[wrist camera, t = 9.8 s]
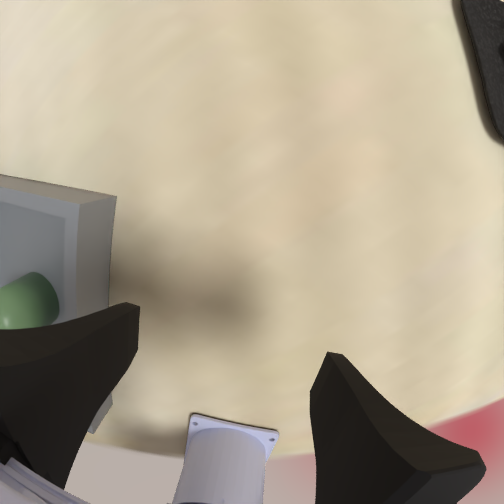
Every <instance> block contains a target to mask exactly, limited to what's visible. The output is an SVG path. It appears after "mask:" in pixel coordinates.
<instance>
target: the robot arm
mask: <svg viewBox="0 0 504 504" xmlns="http://www.w3.org/2000/svg"><path fill="white" fill-rule="evenodd" d="M139 315H140V306H136V305H133V304H130V303H127V302H125V303H121V304H118V305H115V306H112V307H109V308H106V309H103V310H100V311H97V312H95V313H92V314H89V315H86V316H83V317H79V318H76V319H72V320H69V321H66V322H62V323H57V324H53V325H47V326H42V327H34V328H23V329H0V504H90V503H88V502H85V501H84V500H81V499H80V498H78V497H76V496H74V495H72V494H70V493H68V492H66V491H64V488H65V485H66V482H67V479H68V476H69V473H70V470H71V467H72V465H73V462H74V460H75V457H76V455H77V453H78V450H79V448H80V446H81V444H82V441H83V439H84V437H85V435H86V433H87V431H88V429H89V427H90V425H91V423H92V421H93V419H94V417H95V415H96V414H97V412H98V410H99V409H100V407H101V406H102V404H103V403H104V401H105V400H106V399H107V397H108V396H109V395H110V393H111V392H112V390H113V389H114V388H115V386H116V385H117V383H118V382H119V381H120V379H121V378H122V376H123V375H124V374H125V372H126V371H127V369H128V368H129V366H130V364H131V362H132V360H133V358H134V356H135V354H136V352H137V350H138V333H139ZM310 419H311V427H312V434H313V442H314V449H315V457H316V499H315V500H316V501H315V504H457V502H458V501H459V500H461V499H462V498H463V497H464V496H465V495H466V494H467V493H469V492H470V491H471V490H472V489H473V488H474V487H475V486H476V485H477V484H478V483H479V482H480V481H481V479H482V478H483V476H484V474H485V471H486V466H485V464H484V462H483V460H482V458H481V456H480V454H479V453H478V452H477V451H476V450H473V449H470V448H467V447H464V446H461V445H458V444H456V443H453V442H451V441H448V440H446V439H444V438H442V437H440V436H438V435H436V434H434V433H432V432H430V431H429V430H427V429H425V428H424V427H422V426H420V425H419V424H417V423H416V422H414V421H413V420H411V419H410V418H408V417H407V416H406V415H404V414H403V413H402V412H401V411H399V410H398V409H397V408H395V407H394V406H393V405H392V404H391V403H390V402H388V401H387V400H386V399H385V398H384V397H383V396H382V395H381V394H380V393H379V392H378V391H377V390H376V389H375V388H374V387H373V386H372V385H371V384H370V383H369V382H368V381H367V380H366V379H365V378H364V377H363V376H362V374H361V373H360V372H359V371H358V370H357V369H356V368H355V367H354V366H353V365H352V364H351V362H350V361H349V360H348V359H347V358H346V357H345V356H344V355H342V354H338V353H332V352H327V354H326V356H325V358H324V361H323V363H322V366H321V368H320V370H319V372H318V375H317V377H316V379H315V382H314V384H313V386H312V388H311V390H310ZM196 422H197V423H196ZM278 438H279V432H277V431H273V430H267V429H261V428H256V427H250V426H245V425H240V424H235V423H231V422H226V421H222V420H218V419H213V418H209V417H205V416H201V415H198V414H193V415H192V416H191V418H190V424H189V431H188V437H187V444H186V451H185V458H184V466H183V470H182V473H181V476H180V480H179V483H178V486H177V489H176V493H175V496H174V499H173V502H172V504H263V492H264V477H265V463H266V462H267V460H268V458H269V456H270V454H271V452H272V450H273V448H274V446H275V444H276V442H277V440H278ZM167 504H170V503H167Z"/></svg>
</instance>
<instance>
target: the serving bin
mask: <svg viewBox="0 0 504 504" xmlns="http://www.w3.org/2000/svg"><path fill="white" fill-rule="evenodd" d="M116 198H117V196H113V195H108V194H103V193H98V192H93V191H88V190H83V189H77V188H72V187H67V186H62V185H57V184H51V183H46V182H40V181H35V180H29V179H24V178H18V177H12V176H7V175H1V174H0V288H1V287H3V286H5V285H7V284H9V283H10V282H12V281H14V280H16V279H18V278H20V277H22V276H24V275H26V274H28V273H30V272H37V273H39V274H41V275H43V276H44V277H45V278H46V279H47V280H48V281H49V282H50V283H51V285H52V286H53V288H54V290H55V292H56V294H57V297H58V301H59V308H60V309H59V315H58V318H57V319H56V321H54V322H53V323H52V324H51V325H53V324H57V323H62V322H66V321H69V320H72V319H76V318H79V317H83V316H86V315H89V314H92V313H95V312H97V311H100V310H103V309H106V308H108V295H109V271H110V255H111V242H112V232H113V222H114V213H115V205H116ZM111 406H112V395H111V393H110V395H109V396H108V397H107V399H106V400H105V401H104V403H103V404H102V406H101V407H100V409H99V410H98V412H97V414H96V415H95V417H94V419H93V421H92V423H91V425H90V427H89V429H88V432H90V433H92V434H94V432H95V431H96V429H97V428H98V426H99V425H100V423H101V421H102V420H103V418H104V417H105V415H106V414H107V412H108V410H109V409H110V407H111Z"/></svg>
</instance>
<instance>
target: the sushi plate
mask: <svg viewBox="0 0 504 504" xmlns="http://www.w3.org/2000/svg"><path fill="white" fill-rule="evenodd" d="M461 5H462V10H463V13H464V17H465V20H466V23H467V26H468V30H469V33H470V36H471V40H472V43H473V46H474V50H475V54H476V57H477V61H478V65H479V69H480V74H481V78H482V82H483V87H484V91H485V95H486V99H487V104H488V108H489V111H490V115H491V118H492V121H493V124H494V126H495V128H496V130H497V132H498V134H499V135H500V136H501V137H502V138H503V140H504V2H502V1H500V0H461Z"/></svg>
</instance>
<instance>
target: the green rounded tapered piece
mask: <svg viewBox="0 0 504 504" xmlns="http://www.w3.org/2000/svg"><path fill="white" fill-rule="evenodd" d="M59 309H60V308H59V301H58V297H57V294H56V292H55V290H54V288H53V286H52V285H51V283H50V282H49V281H48V280H47V279H46V278H45V277H44V276H43V275H41V274H39V273H37V272H30V273H28V274H26V275H24V276H22V277H20V278H18V279H16V280H14V281H12V282H10V283H9V284H7V285H5V286H3V287H1V288H0V329H23V328H34V327H42V326H47V325H51V324H52V323H53V322H54V321H56V319H57V318H58V315H59Z"/></svg>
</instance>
